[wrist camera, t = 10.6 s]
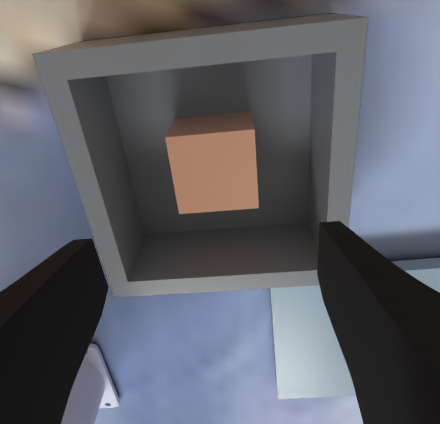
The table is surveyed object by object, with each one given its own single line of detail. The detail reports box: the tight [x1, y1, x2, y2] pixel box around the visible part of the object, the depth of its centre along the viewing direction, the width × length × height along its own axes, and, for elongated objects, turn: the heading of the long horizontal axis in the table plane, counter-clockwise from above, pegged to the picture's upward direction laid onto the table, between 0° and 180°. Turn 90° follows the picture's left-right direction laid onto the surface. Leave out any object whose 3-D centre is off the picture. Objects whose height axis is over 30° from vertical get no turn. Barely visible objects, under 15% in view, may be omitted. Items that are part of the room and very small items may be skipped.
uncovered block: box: [165, 111, 259, 214], centre depth 18 cm, size 4×4×3 cm
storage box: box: [32, 13, 368, 297], centre depth 18 cm, size 12×12×5 cm
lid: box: [270, 258, 440, 399], centre depth 25 cm, size 13×13×5 cm
